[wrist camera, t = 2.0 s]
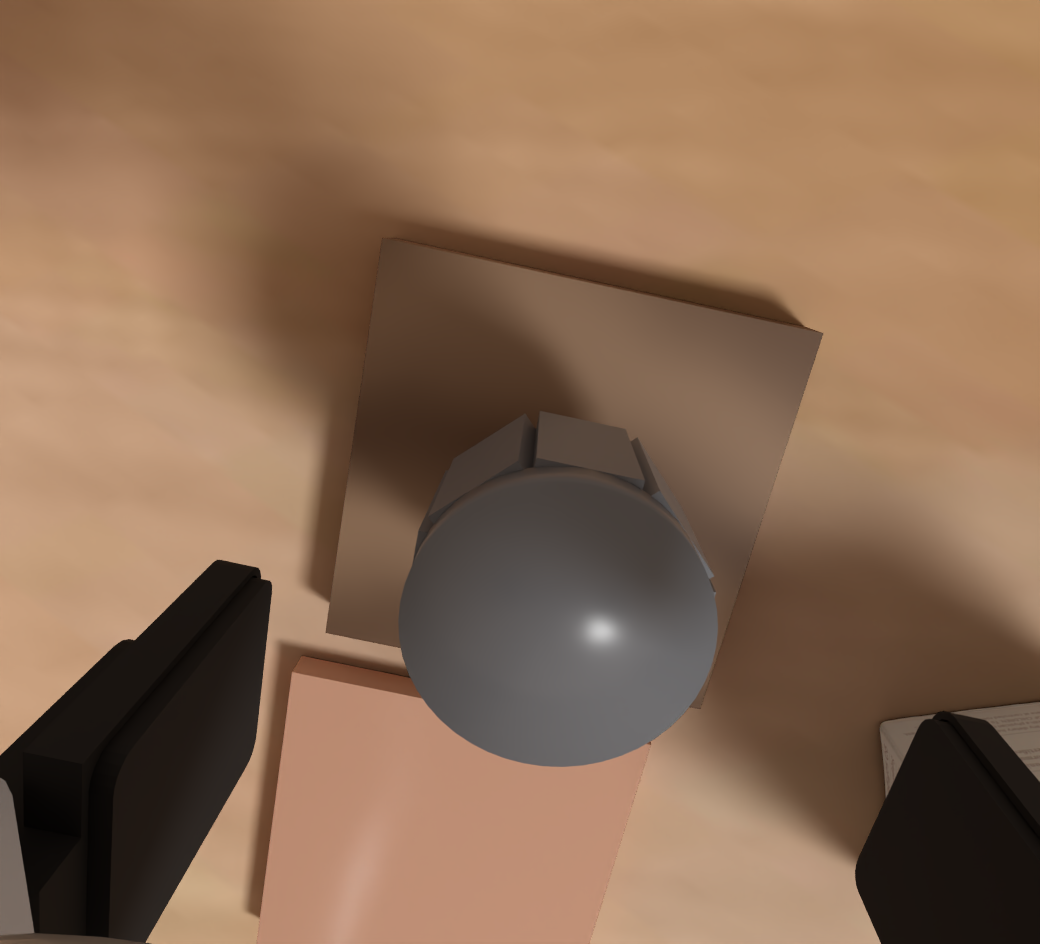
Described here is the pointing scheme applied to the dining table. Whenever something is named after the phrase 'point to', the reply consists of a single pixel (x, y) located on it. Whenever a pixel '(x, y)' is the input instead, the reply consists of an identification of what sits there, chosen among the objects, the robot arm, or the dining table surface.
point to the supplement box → (1024, 727)
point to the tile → (429, 826)
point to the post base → (555, 406)
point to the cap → (557, 596)
